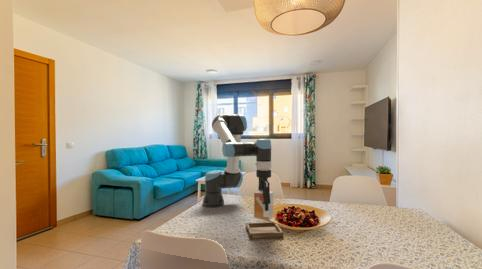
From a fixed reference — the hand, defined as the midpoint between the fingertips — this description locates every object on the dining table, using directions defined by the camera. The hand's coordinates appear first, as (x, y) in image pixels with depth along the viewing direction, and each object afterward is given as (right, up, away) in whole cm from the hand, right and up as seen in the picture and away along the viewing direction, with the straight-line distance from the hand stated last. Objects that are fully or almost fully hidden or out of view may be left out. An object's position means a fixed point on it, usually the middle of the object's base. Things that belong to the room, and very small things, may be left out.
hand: (263, 213), depth 118 cm
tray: (0, -10, 0) cm, 10 cm away
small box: (0, -2, 0) cm, 2 cm away
